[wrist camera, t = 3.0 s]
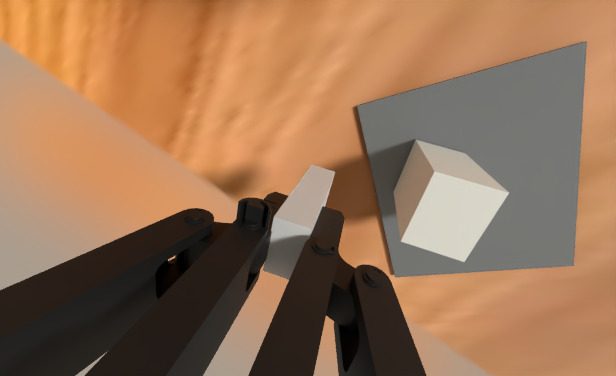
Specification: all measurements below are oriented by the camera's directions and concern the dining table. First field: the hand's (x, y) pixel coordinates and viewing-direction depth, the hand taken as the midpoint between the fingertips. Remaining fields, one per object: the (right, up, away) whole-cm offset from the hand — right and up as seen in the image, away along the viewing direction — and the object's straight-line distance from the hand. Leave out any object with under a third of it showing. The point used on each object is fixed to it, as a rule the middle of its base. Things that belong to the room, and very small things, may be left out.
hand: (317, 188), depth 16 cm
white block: (+10, +1, +6) cm, 12 cm away
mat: (+13, 0, +6) cm, 15 cm away
